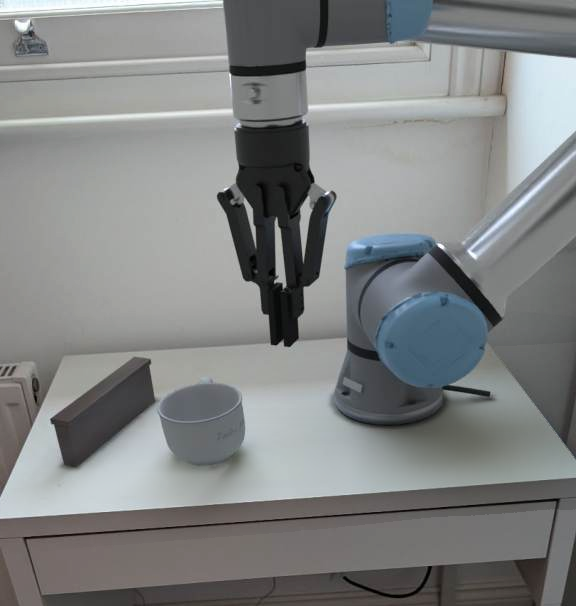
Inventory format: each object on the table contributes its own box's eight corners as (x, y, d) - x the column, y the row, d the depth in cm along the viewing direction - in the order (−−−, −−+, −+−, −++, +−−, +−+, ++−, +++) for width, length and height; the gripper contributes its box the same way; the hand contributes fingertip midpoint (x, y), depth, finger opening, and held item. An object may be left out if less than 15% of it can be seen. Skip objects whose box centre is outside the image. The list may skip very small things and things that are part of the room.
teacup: (236, 477, 101) (229, 421, 97) (154, 472, 103) (144, 417, 99) (261, 424, 112) (256, 371, 108) (186, 421, 114) (179, 369, 110)
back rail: (157, 401, 120) (150, 358, 116) (78, 468, 105) (67, 421, 101) (141, 398, 121) (134, 356, 117) (61, 464, 106) (49, 418, 102)
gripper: (191, 126, 81) (217, 347, 94) (322, 127, 76) (329, 361, 89) (225, 113, 86) (245, 324, 99) (349, 113, 81) (352, 335, 94)
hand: (284, 341), depth 94 cm, fingers closed
